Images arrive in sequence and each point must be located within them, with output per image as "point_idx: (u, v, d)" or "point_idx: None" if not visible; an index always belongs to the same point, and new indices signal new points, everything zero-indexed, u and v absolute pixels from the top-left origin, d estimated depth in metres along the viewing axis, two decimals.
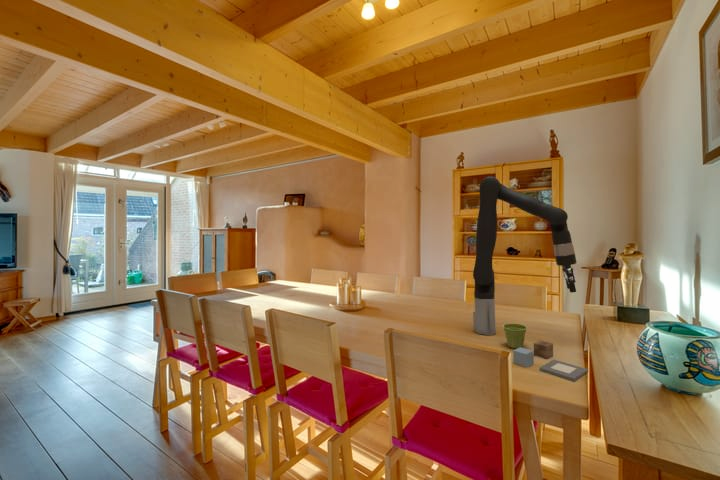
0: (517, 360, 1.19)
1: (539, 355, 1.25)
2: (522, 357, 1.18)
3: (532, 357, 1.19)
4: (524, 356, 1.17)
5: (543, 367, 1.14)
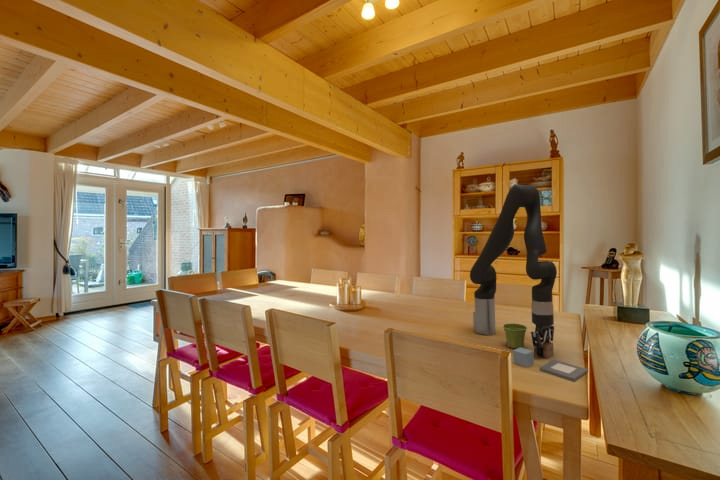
0: (517, 360, 1.19)
1: None
2: (522, 357, 1.18)
3: (532, 357, 1.19)
4: (524, 356, 1.17)
5: (543, 367, 1.14)
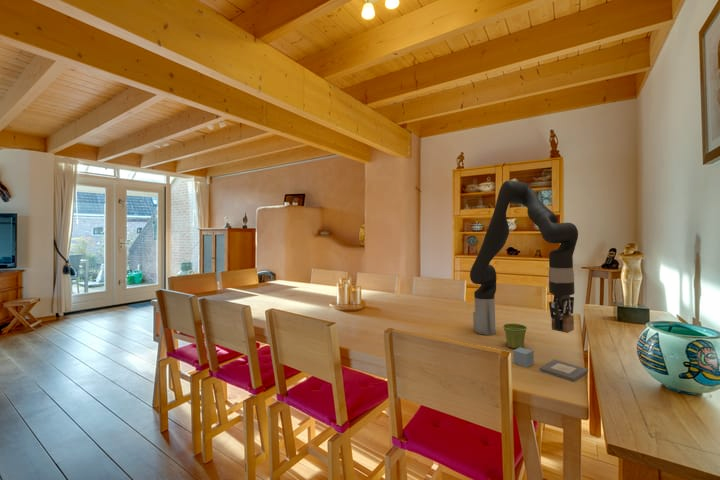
0: (517, 360, 1.19)
1: None
2: (522, 357, 1.18)
3: (532, 357, 1.19)
4: (524, 356, 1.17)
5: (543, 367, 1.14)
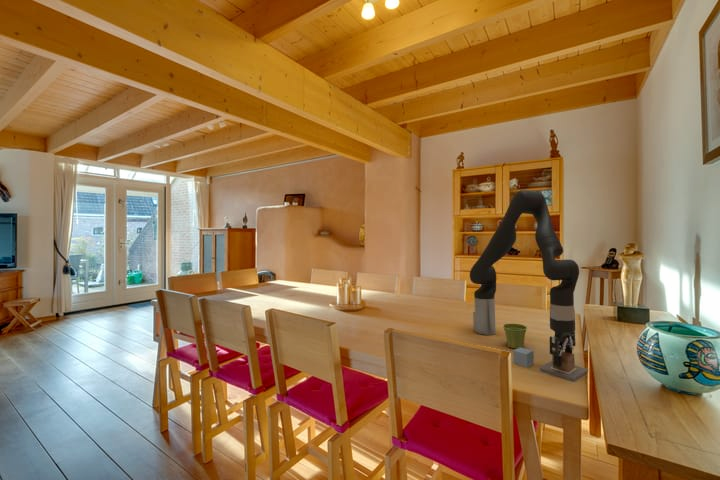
0: (517, 360, 1.19)
1: (559, 367, 1.11)
2: (522, 357, 1.18)
3: (532, 357, 1.19)
4: (524, 356, 1.17)
5: (543, 367, 1.14)
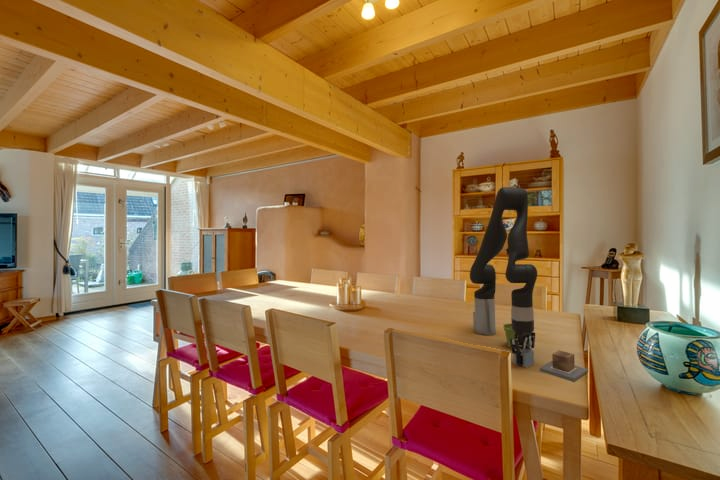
0: None
1: (559, 367, 1.11)
2: None
3: (533, 357, 1.19)
4: (525, 356, 1.17)
5: (543, 367, 1.14)
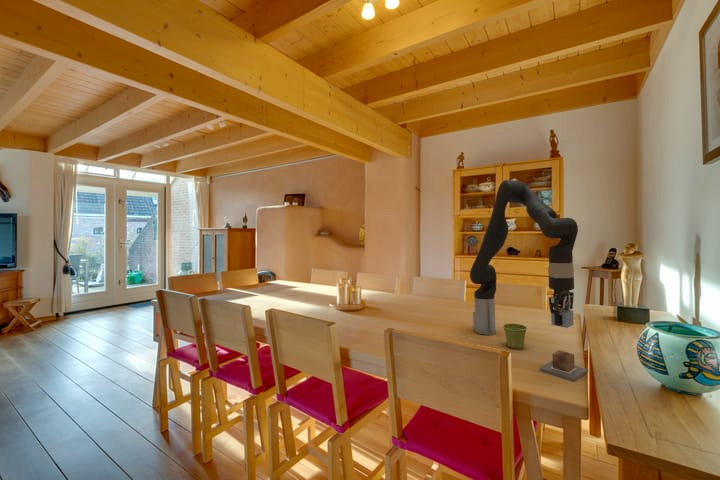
0: None
1: (559, 367, 1.11)
2: None
3: (572, 318, 1.11)
4: (564, 316, 1.09)
5: (543, 367, 1.14)
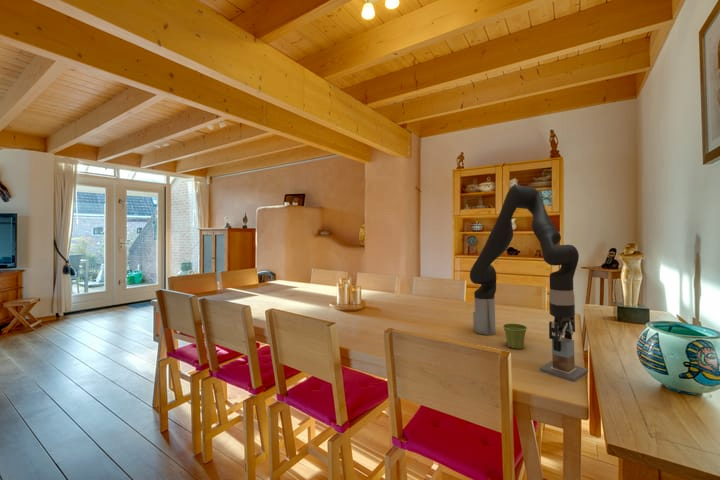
0: None
1: (559, 367, 1.11)
2: (561, 346, 1.10)
3: (573, 347, 1.11)
4: (565, 346, 1.09)
5: (543, 367, 1.14)
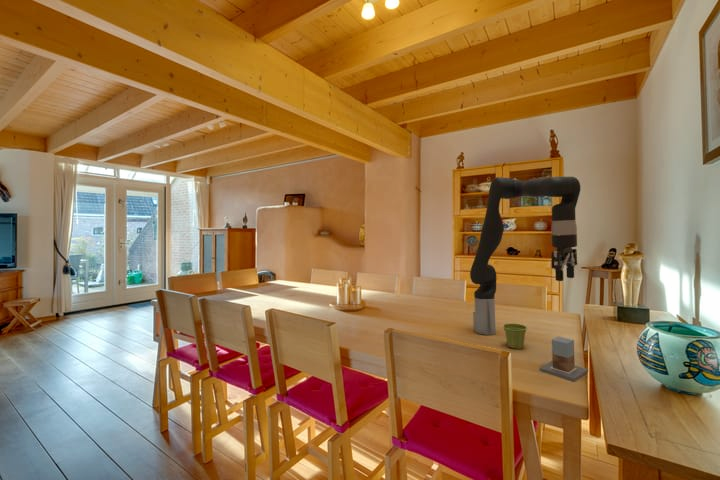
0: (556, 350, 1.11)
1: (559, 367, 1.11)
2: (561, 346, 1.10)
3: (573, 347, 1.11)
4: (565, 346, 1.09)
5: (543, 367, 1.14)
